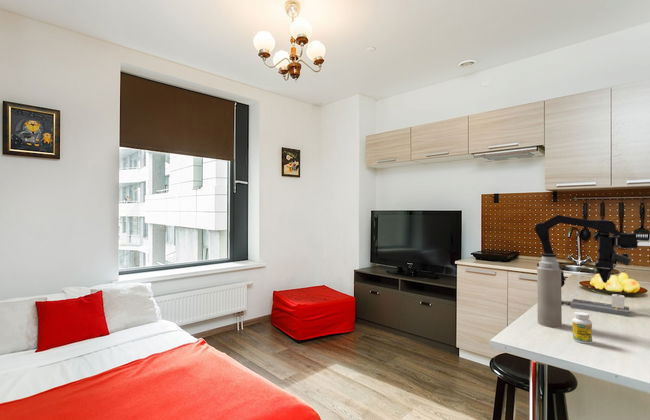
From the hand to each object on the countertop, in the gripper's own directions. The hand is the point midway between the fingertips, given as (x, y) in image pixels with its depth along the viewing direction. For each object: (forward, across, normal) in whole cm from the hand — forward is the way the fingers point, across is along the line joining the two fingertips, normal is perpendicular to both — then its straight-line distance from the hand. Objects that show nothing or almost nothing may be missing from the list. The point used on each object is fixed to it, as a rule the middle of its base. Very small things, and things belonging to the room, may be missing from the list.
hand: (606, 281), depth 154 cm
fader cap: (+10, -5, -4) cm, 12 cm away
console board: (+12, -5, +2) cm, 13 cm away
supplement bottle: (+13, -56, +1) cm, 57 cm away
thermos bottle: (+13, -43, +13) cm, 47 cm away
